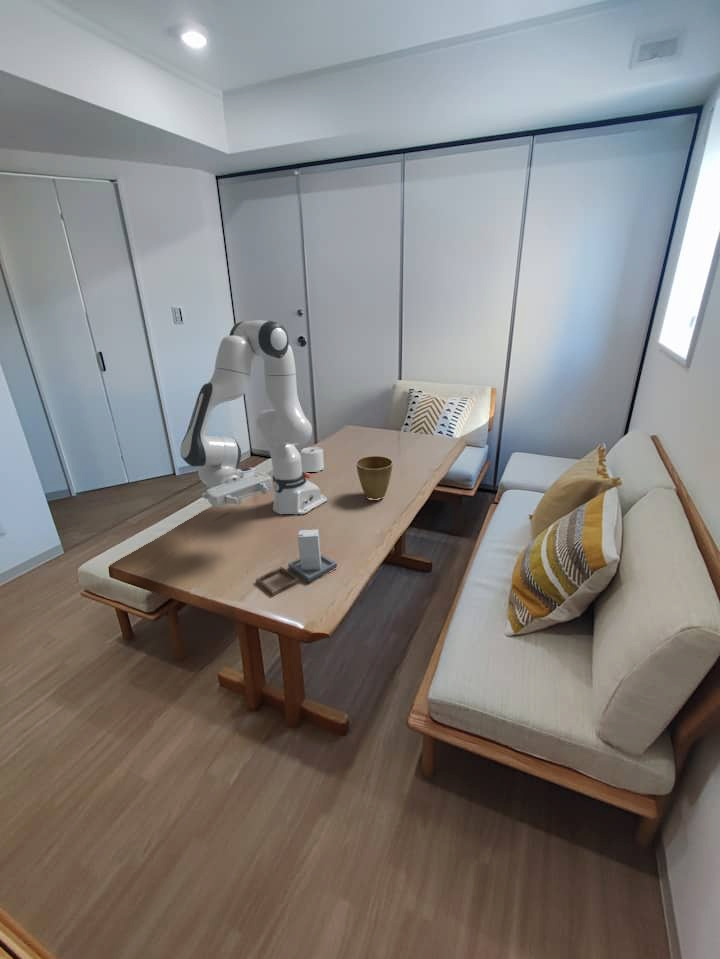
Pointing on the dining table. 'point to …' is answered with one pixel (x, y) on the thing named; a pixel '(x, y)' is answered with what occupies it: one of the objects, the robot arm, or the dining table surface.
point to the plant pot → (374, 475)
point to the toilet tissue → (312, 459)
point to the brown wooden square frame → (280, 589)
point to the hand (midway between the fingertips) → (253, 496)
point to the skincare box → (309, 549)
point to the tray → (312, 574)
